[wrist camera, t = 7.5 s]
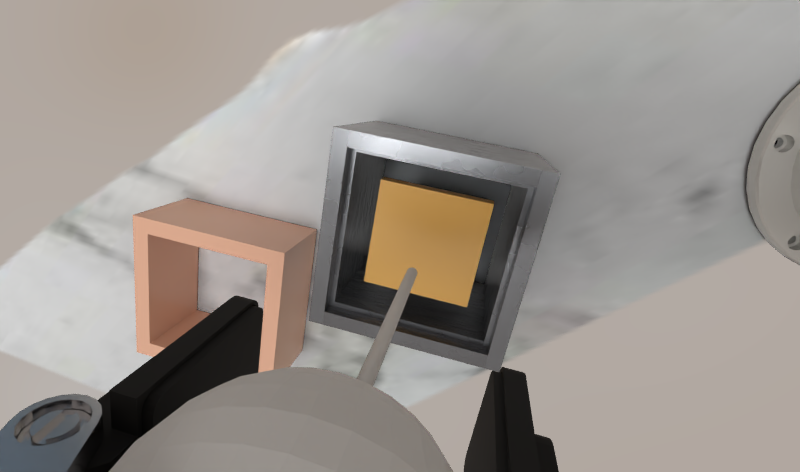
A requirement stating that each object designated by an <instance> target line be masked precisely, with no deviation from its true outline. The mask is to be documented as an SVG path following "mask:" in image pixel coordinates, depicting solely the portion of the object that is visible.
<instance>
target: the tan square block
mask: <svg viewBox="0 0 800 472" xmlns="http://www.w3.org/2000/svg"><path fill="white" fill-rule="evenodd" d="M493 207H494V201H492V200H488V199H483V198H479V197H474V196H470V195H465V194H460V193H456V192H451V191H447V190H442V189H438V188H433V187H429V186H424V185H420V184H415V183H410V182H406V181H401V180H397V179H392V178H388V177H384V178H382V179H381V182H380V188H379V194H378V200H377V206H376V212H375V218H374V223H373V229H372V235H371V241H370V247H369V253H368V259H367V265H366V271H365V277H364V281H365V282H369V283H373V284H377V285H381V286H385V287H389V288H393V289H396V290H398V289H399V287H400V284H401V282H402V280H403V278H404V276H405V274H406V272H407V270H408V269H409V268H415V269H416V270H417V276H416V279H415V281H414V284H413V286H412V289H411V291H410V293H412V294H416V295H420V296H424V297H428V298H432V299H436V300H440V301H444V302H448V303H452V304H456V305H459V306H463V307H467V305H468V301H469V298H470V294H471V290H472V286H473V282H474V279H475V275H476V271H477V267H478V263H479V260H480V256H481V252H482V248H483V245H484V241H485V237H486V233H487V229H488V226H489V222H490V218H491V214H492V210H493Z"/></svg>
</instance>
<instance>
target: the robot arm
mask: <svg viewBox="0 0 800 472" xmlns="http://www.w3.org/2000/svg"><path fill="white" fill-rule="evenodd" d="M776 140H778V142H777V144H776V145H775V146H774V144H775V141H776ZM746 190H747V197H748V203H749V209H750V212H751V214H752V216H753V219H754V221H755V224H756V226H757V228H758V229H759V231H760V232H761V233H762V235H763V236H764V238H765V239H766V240H767V242H768V243H769V244H770V245H771V246H772V247H774V248H775V249H776V250H777V251H778V252H780V253H781V254H782V255H783V256H784V257H786V258H788V259H790V260H791V261H793V262H795V263H797V264H799V265H800V84H799V85H797V86H796V87H795V88H794V89H793V90H792V91H791V92H790V93H789V94H788V95H787V96H786V97H785V98H784V99H783V100H782V101H781V103H780V104H779V105H778V107H777V108H776V109H775V111H774V112H773V114H772V115H771V116H770V118H769V119H768V120H767V122H766V123H765V125H764V127H763V129H762V131H761V133H760V135H759V137H758V139H757V141H756V143H755V145H754V148H753V152H752V155H751V158H750V162H749V165H748V173H747V186H746ZM262 322H263V309H262V308H260V307H258V302H257V301H255V300H251V299H248V298H244V297H240V296H234V297H232V298H231V299H229V300H228V301H227V302H225V303H224V304H223V305H221V306H220V307H219V308H217V309H216V310H215V311H214V312H212V313H211V314H210V315H208V316H207V317H206V318H204V319H203V320H202V321H200V322H199V323H198V324H196V325H195V326H194V327H192V328H191V329H190V330H188V331H187V332H186V333H185V334H183V335H182V336H181V337H179V338H178V339H177V340H175V341H174V342H173V343H171V344H170V345H169V346H167V347H166V348H165V349H163V350H162V351H161V352H159V353H158V354H157V355H156V356H154V357H153V358H152V359H150V360H149V361H148V362H146V363H145V364H144V365H142V366H141V367H140V368H138V369H137V370H136V371H134V372H133V373H132V374H130V375H129V376H128V377H126V378H125V379H124V380H123V381H121V382H120V383H119V384H117V385H116V386H115V387H113V388H112V389H111V390H109V392H108V393H107V394H105V395H104V396H103V397H101V398H100V399H99V400H96V399H94V398H92V397H90V396H87V395H80V394H68V395H60V396H55V397H51V398H47V399H45V400H42V401H39V402H37V403H34V404H32V405H31V406H29V407H27V408H25V409H24V410H22V411H20V412H19V413H18V414H16V415H15V416H14V417H13V418H12V419H11V420H10V421H9V422H8V423H7V424H6V425H5V426H4V427H3V429H1V430H0V472H109V471H110V470H111V468H112V467H113V466H114V465H115V464H116V463H117V462H118V460H119V459H120V458H121V457H122V456H123V455H124V453H125V452H126V451H127V450H128V449H129V448H130V446H131V445H132V444H133V443H134V442H135V441H136V440H138V439H139V438H140V437H142V436H143V435H144V434H146V433H147V432H148V431H150V430H151V429H152V428H154V427H155V426H156V425H157V424H159V423H160V422H161V421H163V420H164V419H165V418H167V417H168V416H169V415H171V414H172V413H173V412H174V411H176V410H177V409H178V408H180V407H181V406H182V405H184V404H185V403H186V402H187V401H189V400H191V399H193V398H195V397H197V396H199V395H201V394H203V393H205V392H207V391H209V390H211V389H213V388H215V387H217V386H219V385H221V384H224V383H226V382H228V381H231V380H233V379H235V378H238V377H240V376H245V375H249V374H254V373H258V369H259V357H260V345H261V334H262ZM464 472H559V471H558V466H557V461H556V456H555V452H554V446H553V443H552V441H551V439H550V438H547V437H543V436H540V435H537V434H534V427H533V421H532V414H531V407H530V401H529V394H528V388H527V381H526V375H525V373H523V372H519V371H515V370H512V369H508V368H504V367H502V368H501V369H500V372H496V371H492V372H491V375H490V378H489V381H488V384H487V388H486V391H485V394H484V398H483V401H482V405H481V407H480V411H479V414H478V417H477V421H476V424H475V427H474V431H473V434H472V437H471V441H470V444H469V447H468V451H467V454H466V458H465V465H464Z"/></svg>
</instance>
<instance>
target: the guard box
mask: <svg viewBox="0 0 800 472" xmlns="http://www.w3.org/2000/svg"><path fill="white" fill-rule="evenodd" d="M386 158H388V159H392V160H397V161H402V162H406V163H411V164H416V165H420V166H425V167H430V168H434V169H439V170H444V171H448V172H453V173H458V174H462V175H467V176H472V177H477V178H481V179H486V180H491V181H495V182H500V183H505V184H509V185H511V189H510V193H509V196H508V200H507V204H506V207H505V211H504V214H503V218H502V222H501V225H500V229H499V233H498V236H497V240H496V244H495V247H494V251H493V255H492V258H491V262H490V266H489V269H488V273H487V277H486V280H485V284H481V283H477V282H473V286H472V290H471V294H470V298H469V301H468V305H467V307H463V306H459V305H456V304H452V303H448V302H444V301H440V300H436V299H432V298H428V297H424V296H420V295H416V294H412V293H410V294H409V296H408V299H407V301H406V304H405V307H404V309H403V312H402V314H401V317H400V319H399V322H398V324H397V327H396V329H395V332H394V334H393V337H392V340H391V342H390V343H393V344H397V345H401V346H405V347H408V348H412V349H416V350H419V351H423V352H427V353H430V354H434V355H438V356H441V357H445V358H449V359H453V360H456V361H460V362H464V363H467V364H471V365H475V366H478V367H482V368H486V369H489V370H493V371H497V372H500V368H501V365H502V362H503V359H504V355H505V352H506V349H507V346H508V343H509V339H510V336H511V333H512V330H513V326H514V323H515V320H516V317H517V314H518V310H519V307H520V304H521V301H522V297H523V294H524V291H525V288H526V284H527V281H528V278H529V275H530V272H531V268H532V265H533V262H534V259H535V255H536V252H537V249H538V246H539V243H540V239H541V236H542V233H543V230H544V226H545V223H546V220H547V217H548V214H549V210H550V207H551V204H552V201H553V197H554V194H555V191H556V188H557V184H558V181H559V178H560V175H561V174H560V173H559V172H558V171H557V170H556V169H555V168H553V167H552V166H551V165H550V164H549V163H548V162H547V161H546V160H545V159H543V158H542V157H541V156H540V155H539V154H538V153H533V152H528V151H523V150H518V149H513V148H508V147H503V146H498V145H494V144H489V143H484V142H479V141H474V140H469V139H464V138H459V137H454V136H449V135H444V134H439V133H434V132H430V131H425V130H420V129H415V128H410V127H405V126H400V125H395V124H390V123H385V122H380V121H372V122H364V123H357V124H350V125H342V126H335V127H333V132H332V140H331V148H330V157H329V165H328V173H327V181H326V189H325V197H324V205H323V213H322V221H321V229H320V237H319V245H318V253H317V261H316V269H315V277H314V285H313V293H312V301H311V309H310V317H309V321H312V322H316V323H320V324H323V325H327V326H331V327H334V328H338V329H342V330H345V331H349V332H353V333H357V334H360V335H364V336H368V337H371V338H376V336H377V334H378V332H379V330H380V327H381V325H382V323H383V321H384V319H385V317H386V315H387V312H388V310H389V308H390V306H391V304H392V302H393V300H394V297H395V295H396V293H397V291H398V290H396V289H393V288H389V287H385V286H381V285H377V284H373V283H369V282H365V281H364V277H365V271H366V265H367V259H368V253H369V247H370V241H371V235H372V229H373V223H374V218H375V212H376V206H377V200H378V194H379V188H380V182H381V179H382V178H383V175H384V169H385V163H386Z"/></svg>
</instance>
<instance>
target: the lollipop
mask: <svg viewBox="0 0 800 472" xmlns="http://www.w3.org/2000/svg"><path fill="white" fill-rule="evenodd" d="M416 276H417V270H416V269H415V268H409V269H408V270H407V272H406V274H405V276H404V278H403V280H402V282H401V284H400V287H399V289H398V291H397V293H396V295H395V297H394V300H393V302H392V304H391V306H390V308H389V310H388V312H387V315H386V317H385V319H384V321H383V323H382V325H381V327H380V330H379V332H378V334H377V336H376V338H375V340H374V343H373V345H372V347H371V349H370V351H369V353H368V355H367V358H366V360H365V362H364V364H363V366H362V368H361V371H360V373H359V375H358V377H357V379H355V378H353V377H350V376H347V375H344V374H342V373H338V372H333V371H328V370H323V369H317V368H303V367H286V368H280V369H275V370H270V371H264V372H259V373H254V374H249V375H245V376H240V377H238V378H235V379H233V380H231V381H228V382H226V383H224V384H221V385H219V386H217V387H215V388H213V389H211V390H209V391H207V392H205V393H203V394H201V395H199V396H197V397H195V398H193V399H191V400H189V401H187V402H186V403H185V404H184V405H182V406H181V407H180V408H178V409H177V410H176V411H174V412H173V413H172V414H171V415H169V416H168V417H167V418H165V419H164V420H163V421H161V422H160V423H159V424H157V425H156V426H155V427H154V428H152V429H151V430H150V431H148V432H147V433H146V434H144V435H143V436H142V437H140V438H139V439H138V440H136V441H135V442H134V443H133V444H132V445H131V446H130V448H129V449H128V450H127V451H126V452H125V453H124V455H123V456H122V457H121V458H120V459H119V460H118V462H117V463H116V464H115V465H114V466H113V467H112V468H111V470H110V471H109V472H453V470H452V469H451V467H450V465H449V464H448V462H447V460H446V459H445V457H444V455H443V454H442V452H441V450H440V449H439V447H438V445H437V444H436V442H435V440H434V439H433V437H432V435H431V434H430V433H429V432H428V431H427V429H426V428H425V427H424V426H423V425H422V424H421V423H420V421H419V420H418V419H417V418H416V417H415V416H414V415H413V414H412V413H411V412H410V411H408V410H407V409H406V408H405V407H403V406H402V405H401V404H400V403H398V402H397V401H396V400H395V399H393V398H392V397H391V396H389V395H387V394H386V393H384V392H382V391H380V390H379V389H377V388H375V387H373V385H374V383H375V380H376V378H377V375H378V373H379V370H380V367H381V365H382V362H383V360H384V357H385V355H386V352H387V350H388V347H389V345H390V342H391V340H392V337H393V334H394V332H395V329H396V327H397V324H398V322H399V319H400V317H401V314H402V312H403V309H404V307H405V304H406V301H407V299H408V296H409V294H410V291H411V289H412V286H413V284H414V281H415V279H416Z"/></svg>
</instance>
